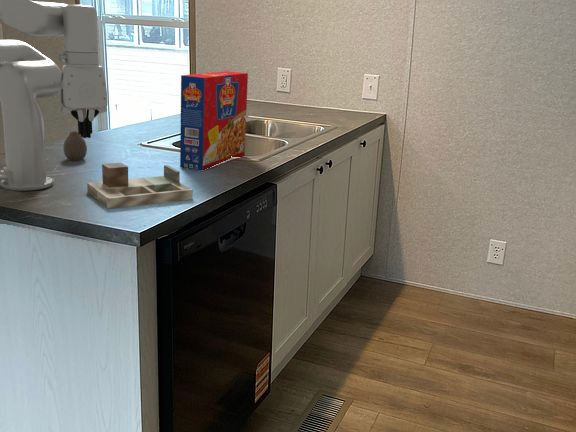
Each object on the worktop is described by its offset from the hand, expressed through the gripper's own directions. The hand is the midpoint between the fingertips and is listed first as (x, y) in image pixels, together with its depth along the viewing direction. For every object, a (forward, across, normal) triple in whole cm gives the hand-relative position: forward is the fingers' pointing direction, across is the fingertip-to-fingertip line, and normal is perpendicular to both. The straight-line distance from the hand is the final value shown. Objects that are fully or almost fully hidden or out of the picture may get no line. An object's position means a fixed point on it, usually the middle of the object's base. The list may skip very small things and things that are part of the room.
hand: (85, 136), depth 155 cm
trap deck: (+15, +12, -4) cm, 20 cm away
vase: (+15, +9, +42) cm, 46 cm away
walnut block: (+13, +7, 0) cm, 15 cm away
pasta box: (+15, +49, +26) cm, 58 cm away
